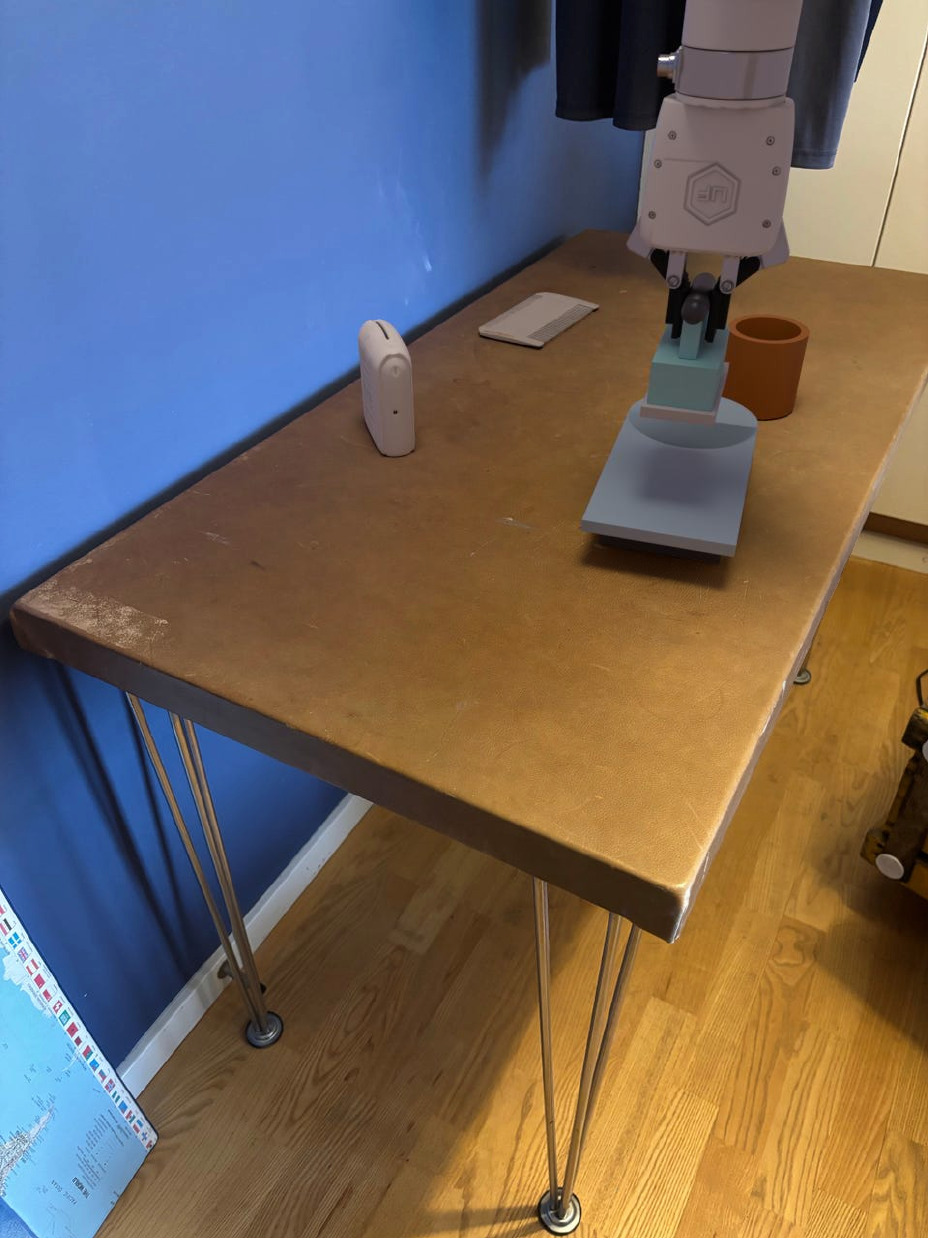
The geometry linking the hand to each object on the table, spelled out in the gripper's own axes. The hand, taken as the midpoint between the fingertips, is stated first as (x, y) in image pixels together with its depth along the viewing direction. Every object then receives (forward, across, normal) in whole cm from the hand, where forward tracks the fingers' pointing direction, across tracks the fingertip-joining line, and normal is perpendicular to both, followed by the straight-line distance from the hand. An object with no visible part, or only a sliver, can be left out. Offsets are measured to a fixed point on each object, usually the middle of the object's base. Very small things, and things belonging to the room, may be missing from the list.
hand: (694, 333), depth 75 cm
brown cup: (+19, +6, +31) cm, 37 cm away
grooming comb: (+19, -25, +47) cm, 56 cm away
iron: (+5, 0, 0) cm, 5 cm away
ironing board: (+19, 0, +5) cm, 19 cm away
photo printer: (+19, -32, +9) cm, 38 cm away
